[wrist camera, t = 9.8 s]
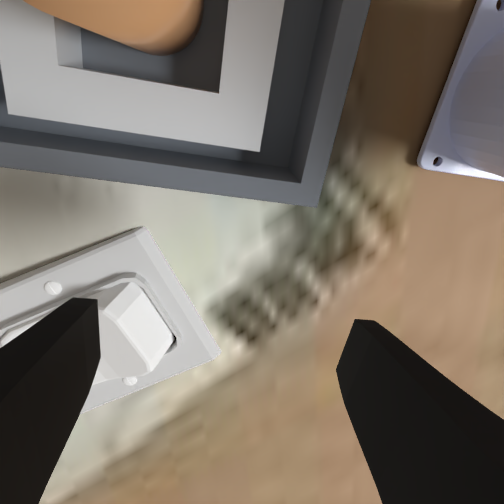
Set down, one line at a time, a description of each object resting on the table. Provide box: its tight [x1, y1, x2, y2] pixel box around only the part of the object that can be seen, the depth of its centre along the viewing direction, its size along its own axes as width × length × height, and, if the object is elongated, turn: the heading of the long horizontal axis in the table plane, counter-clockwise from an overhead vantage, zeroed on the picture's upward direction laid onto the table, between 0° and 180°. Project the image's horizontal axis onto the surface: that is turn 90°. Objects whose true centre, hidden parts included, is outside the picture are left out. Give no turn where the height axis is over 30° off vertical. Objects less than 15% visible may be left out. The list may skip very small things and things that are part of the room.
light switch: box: [0, 227, 221, 414], centre depth 21 cm, size 11×4×13 cm
